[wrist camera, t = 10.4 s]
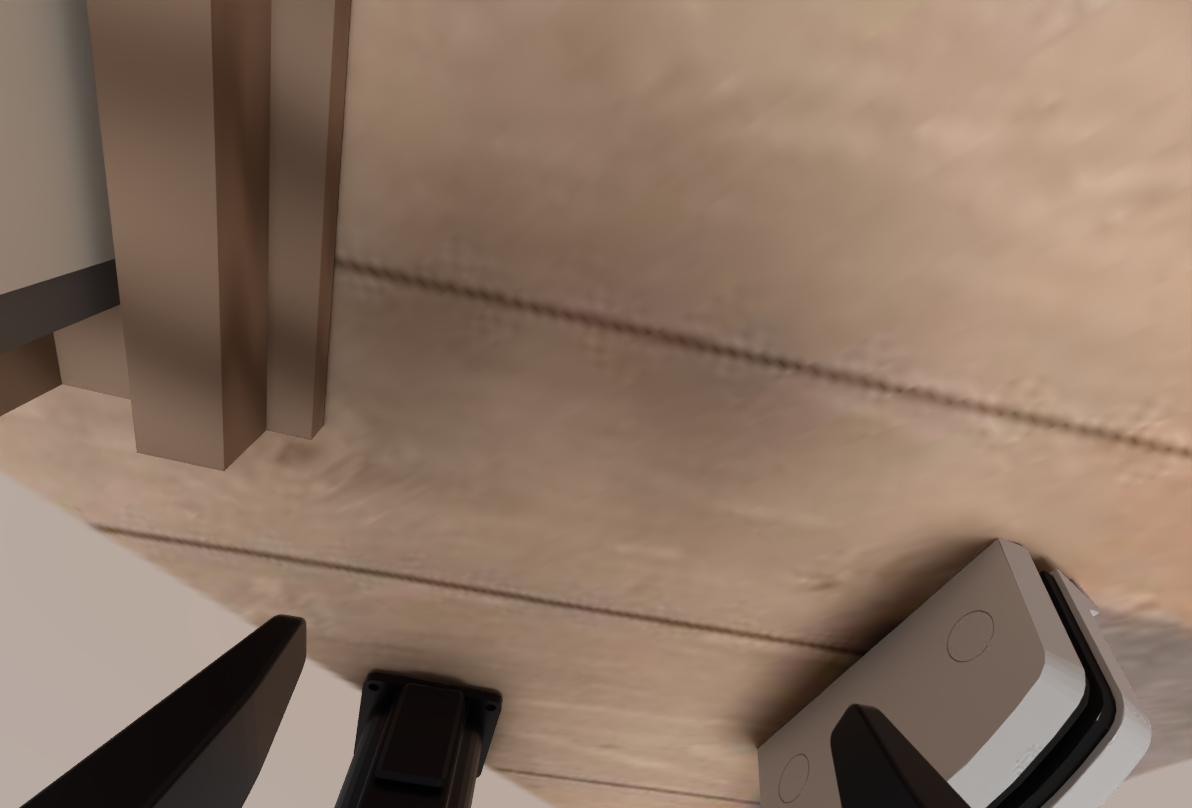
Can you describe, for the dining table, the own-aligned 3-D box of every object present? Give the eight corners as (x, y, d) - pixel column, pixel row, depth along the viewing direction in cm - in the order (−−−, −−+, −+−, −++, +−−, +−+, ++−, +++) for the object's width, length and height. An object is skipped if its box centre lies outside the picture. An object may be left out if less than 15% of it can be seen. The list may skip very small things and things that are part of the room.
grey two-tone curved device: (829, 779, 31) (849, 1011, 22) (755, 725, 31) (745, 931, 22) (1088, 579, 24) (1273, 795, 15) (989, 514, 25) (1111, 685, 15)
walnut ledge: (323, 425, 21) (275, 481, 18) (-42, 342, 19) (-165, 387, 16) (376, -387, 12) (297, -565, 9) (-299, -662, 10) (-690, -997, 7)
